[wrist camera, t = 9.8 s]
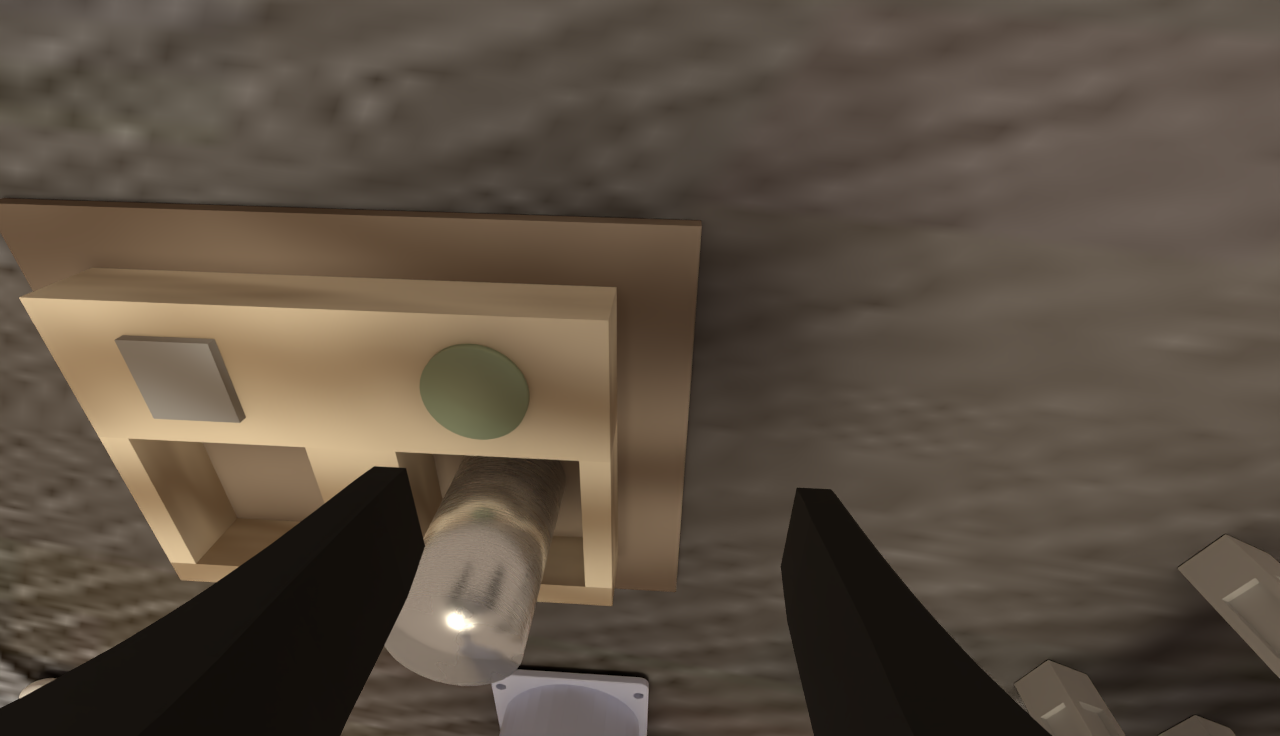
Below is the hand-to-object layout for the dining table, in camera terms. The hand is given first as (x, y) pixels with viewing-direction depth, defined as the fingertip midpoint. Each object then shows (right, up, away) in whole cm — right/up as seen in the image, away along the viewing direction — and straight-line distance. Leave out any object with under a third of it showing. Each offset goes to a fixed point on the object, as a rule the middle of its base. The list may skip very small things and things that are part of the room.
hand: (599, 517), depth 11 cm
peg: (-4, -1, +11) cm, 12 cm away
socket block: (-9, +1, +11) cm, 14 cm away
